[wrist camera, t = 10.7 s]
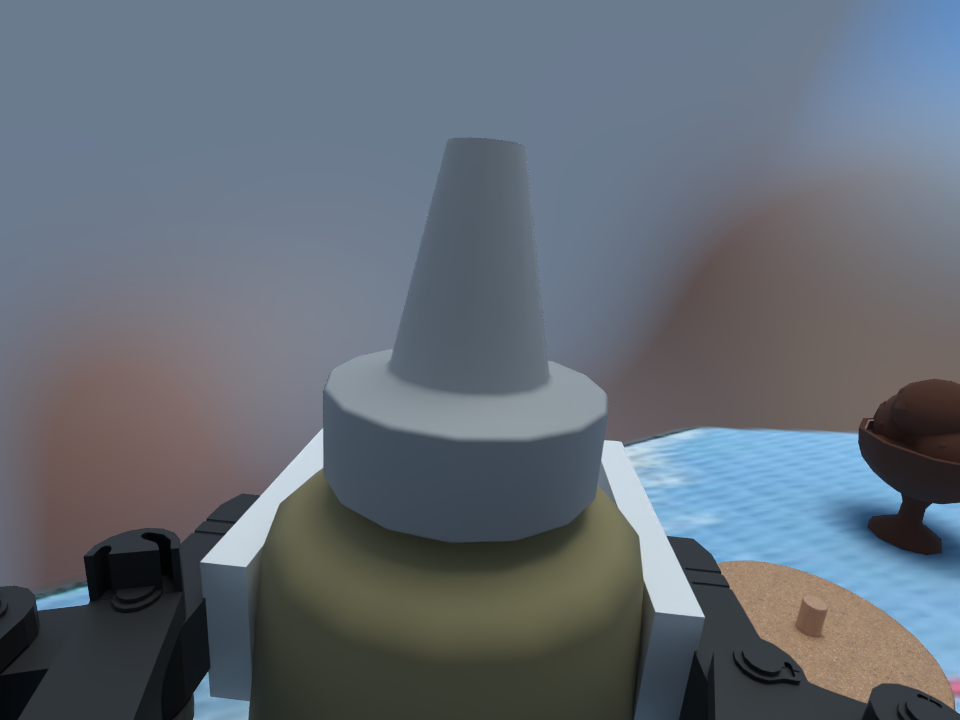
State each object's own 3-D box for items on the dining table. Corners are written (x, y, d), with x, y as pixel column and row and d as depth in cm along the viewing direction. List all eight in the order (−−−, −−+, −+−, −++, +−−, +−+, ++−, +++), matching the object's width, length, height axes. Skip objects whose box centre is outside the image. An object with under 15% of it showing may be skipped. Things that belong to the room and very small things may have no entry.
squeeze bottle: (150, 1254, 9) (-72, 28, 4) (316, 763, 16) (310, 154, 12) (639, 1309, 9) (1033, 111, 4) (572, 788, 16) (673, 183, 12)
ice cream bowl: (1012, 591, 41) (1084, 412, 37) (846, 549, 45) (895, 384, 41) (955, 523, 50) (1007, 375, 46) (821, 494, 54) (859, 355, 50)
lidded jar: (620, 728, 28) (647, 577, 25) (725, 641, 34) (755, 514, 31) (852, 955, 19) (926, 765, 17) (932, 784, 26) (995, 628, 23)
